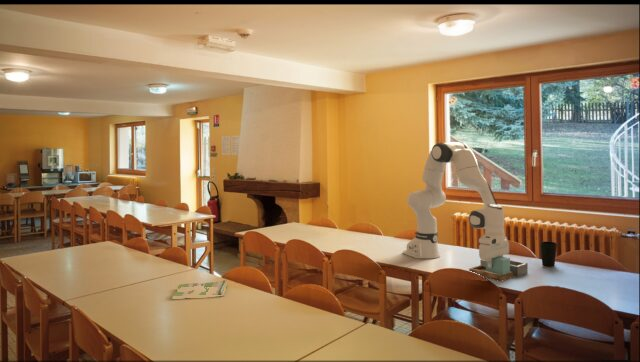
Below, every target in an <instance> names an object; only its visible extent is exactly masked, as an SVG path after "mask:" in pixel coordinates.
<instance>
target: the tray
mask: <svg viewBox="0 0 640 362" xmlns="http://www.w3.org/2000/svg"><path fill="white" fill-rule="evenodd" d="M468 270H469V271H472V272H475V273H477V274H480V275H482V276H484V277H483V278H486V277H487V279H490V278H491V280H493V279H494V281H497V280H498V281H497V282H502V280H503V281H505V279H506V280H508V279H511V278H513V276H514V272H513V271H510V273H507V274H504V275H501V274H497V273H493V272H488V271H486V267H484V266H481V264H480V265H475V266H472V267H470V268H468ZM482 276H481V277H482ZM510 277H511V278H510ZM514 277H515V276H514Z"/></svg>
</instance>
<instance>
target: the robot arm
mask: <svg viewBox="0 0 640 362" xmlns="http://www.w3.org/2000/svg"><path fill="white" fill-rule="evenodd" d="M447 163H448V164H449V163H453V164H454V166H455V170H456V175H457V178H458V180H459V182H460V184H461V185H463V186H464V187H467V188H469V189H473V190H474V191H476V192H477V193H478V194H479V195H480V197H481V200H482V202H483V205H484V207H482V208H479V209H475V210H472V211H471V212H470V213H469V215H468V222H469V224H470V226H471V228H474V229H477V230H481V229H484V234H483V235H482V236H480V237H479V239H478V243H479V245H478V256H479V258H480V260H482V259H483V260H486V261H487V263H488V267H490V268H491V267H493V264H492V262H491V261H492V258H495V257H499V256H502V257H504V256H505V255H508V254H509V253H510V242H509V240H508V237H507V236H506V235H505V233H506V232H505V227H504V226H505V224H506V223H505V222H506V221H505V220H506V219H505V210H504V208H503V206H501V205H499V204H498V203H497V200H496V199H495V196H494V193H493V191H492V188H491V186H490V184H489V182H488V181H487V179H486V178H485V177H484V176H483V174H482V172H481V170H480V167H479V164H478V160H477V158H476V156H475V153H474V152H473V151H472V150H471V149H470V147H469V146H468V144H466V143H465V142H461V141H448V142H438V143H435V144H434V145H433V146H432V148H431V150H430V152H429V154H428V156H427V158H426V161H425V165H424V169H423V171H422V172H423V174H422V176H421V179H422V182H423V183H424V184H425V189H422V190H421V189H420V190H419V189H418V190H416V191H412V192H410V193H409V194H408V196H407V200H406V201H407V205H408V206H409V208H410V209H412V211H413V212H414V214H415V216H416V217H415V218H416V225H417V227H416V228H417V231H416V232H414V233H413V235H415V236H414V238H412V239H411V240H410V241H408V242H407V244H406V249H405V250H403V251H402V254H404V255H406V256H409V257H411V258H415V259H436V258H440V257H441V254H440V250H439V244H438V237H439V235H438V234H439V233H438V227H437V226H438V220H437V217H435V216H434V215H433V214H432V212H431V209H433V208H434V209H435V208H438V207H441V206H443V205H444V204H445V202H446V200H447V196H446V193H445V192H444V190H443V188H442V187H443V186H442V184H443V183H442V182H443V178H444V175H445V170H446V166H447Z"/></svg>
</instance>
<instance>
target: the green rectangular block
mask: <svg viewBox="0 0 640 362" xmlns="http://www.w3.org/2000/svg"><path fill="white" fill-rule="evenodd" d="M510 260H511V257H505V256H503V257H502V256H499V257H495V258H492V261H491V262H492V264H493V267H491V268H490V267H488V263H487V261H486V260H483V259H480V265H481V266H484V267H486V271H488V272H493V273H497V274H501V275H504V274H507V273H510Z"/></svg>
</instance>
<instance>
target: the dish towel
mask: <svg viewBox="0 0 640 362" xmlns="http://www.w3.org/2000/svg"><path fill="white" fill-rule="evenodd" d="M226 283H227V279H224V280H220V281H211V282H204V283H198V282H195V283H194V282H193V283H183V284H178V286H177V288H178V289H180V288H181V287H194V286H199V285H201V286H204V288H205V287H206V288H205V289H206V291H205V292H201V293H199V294H198V295H206V292H208V290H209V288H208V289H207V287H212V286H213V287H218V290H217V291H216V293H213V294H212V295H222V294H223V291H224V287H225V285H226ZM194 292H196V291H195V290H192V291H188V292H176V291H175V292H173V294H172V296H171V298H172V297H173V296H184V295H185V296H186V295H187V294H191V293H194Z"/></svg>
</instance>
